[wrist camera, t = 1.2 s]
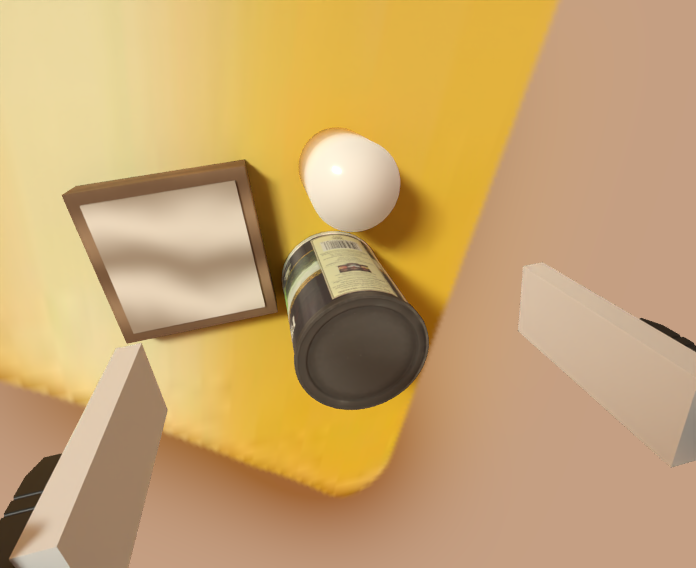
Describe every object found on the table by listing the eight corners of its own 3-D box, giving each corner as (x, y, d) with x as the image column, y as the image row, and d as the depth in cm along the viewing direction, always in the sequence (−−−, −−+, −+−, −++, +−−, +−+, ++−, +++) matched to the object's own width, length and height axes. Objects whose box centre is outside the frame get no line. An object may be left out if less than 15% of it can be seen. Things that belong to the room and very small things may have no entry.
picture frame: (75, 186, 35) (60, 196, 32) (244, 159, 37) (244, 166, 34) (134, 326, 42) (126, 345, 39) (275, 297, 43) (277, 313, 41)
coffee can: (305, 335, 46) (326, 430, 34) (263, 256, 41) (270, 333, 29) (391, 296, 46) (443, 377, 34) (360, 213, 41) (408, 272, 29)
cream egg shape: (292, 133, 37) (302, 147, 30) (369, 122, 38) (397, 132, 31) (305, 210, 40) (317, 239, 33) (376, 198, 41) (402, 223, 34)
